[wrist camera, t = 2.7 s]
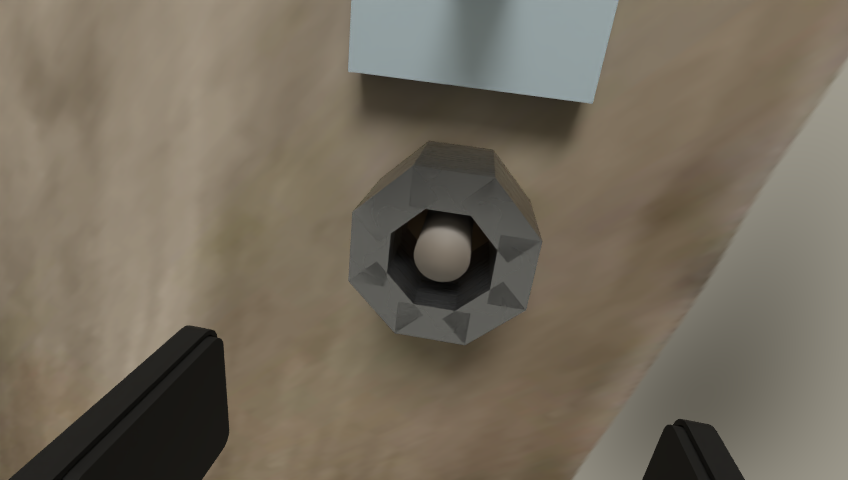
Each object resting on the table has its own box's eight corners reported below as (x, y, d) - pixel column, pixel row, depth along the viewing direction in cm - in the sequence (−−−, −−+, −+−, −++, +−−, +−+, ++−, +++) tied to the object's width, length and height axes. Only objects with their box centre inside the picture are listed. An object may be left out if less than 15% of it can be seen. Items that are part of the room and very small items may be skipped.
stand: (504, 278, 24) (509, 339, 19) (383, 259, 24) (356, 313, 19) (529, 157, 21) (542, 189, 16) (394, 138, 22) (366, 163, 17)
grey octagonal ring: (509, 293, 23) (515, 353, 18) (373, 271, 23) (345, 324, 19) (539, 156, 20) (555, 186, 16) (384, 134, 21) (355, 157, 16)
